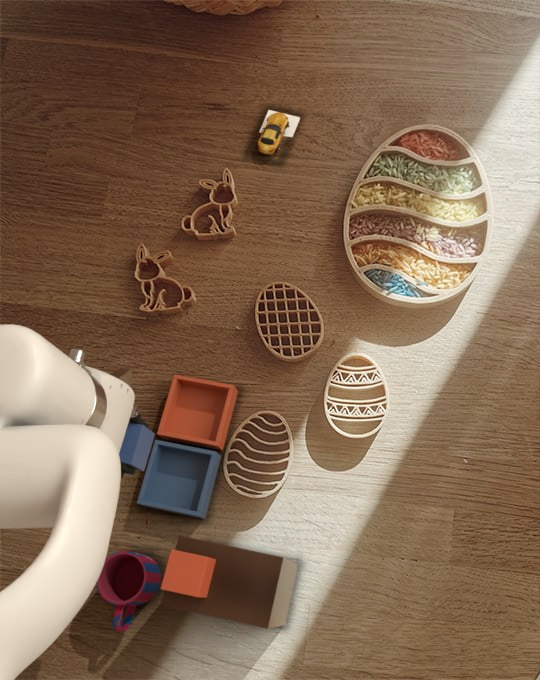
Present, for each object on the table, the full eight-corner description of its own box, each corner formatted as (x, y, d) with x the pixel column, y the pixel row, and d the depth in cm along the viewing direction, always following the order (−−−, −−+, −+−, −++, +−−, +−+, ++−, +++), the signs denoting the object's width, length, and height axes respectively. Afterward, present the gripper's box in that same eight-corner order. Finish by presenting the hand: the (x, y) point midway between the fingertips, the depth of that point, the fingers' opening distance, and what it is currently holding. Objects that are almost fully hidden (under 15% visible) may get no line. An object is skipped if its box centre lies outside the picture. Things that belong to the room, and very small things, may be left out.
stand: (285, 625, 99) (267, 628, 84) (193, 604, 100) (160, 604, 85) (298, 564, 101) (283, 557, 86) (208, 545, 103) (178, 535, 88)
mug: (167, 559, 103) (152, 555, 96) (148, 634, 99) (132, 636, 93) (121, 550, 103) (104, 547, 97) (102, 625, 100) (82, 626, 94)
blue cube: (144, 471, 82) (131, 464, 78) (107, 464, 83) (92, 456, 78) (155, 433, 83) (143, 425, 79) (119, 426, 84) (105, 417, 80)
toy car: (293, 119, 126) (291, 111, 124) (276, 160, 124) (274, 152, 121) (271, 114, 127) (269, 105, 125) (254, 154, 124) (251, 146, 122)
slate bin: (205, 519, 104) (199, 516, 101) (144, 506, 105) (136, 503, 102) (221, 456, 107) (216, 451, 104) (162, 444, 108) (155, 439, 105)
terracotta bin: (223, 451, 107) (217, 446, 104) (163, 439, 108) (156, 434, 105) (238, 391, 110) (233, 385, 107) (180, 381, 111) (174, 374, 108)
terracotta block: (206, 597, 85) (197, 597, 81) (170, 590, 86) (160, 589, 82) (216, 559, 87) (208, 557, 83) (181, 551, 87) (171, 549, 83)
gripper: (54, 313, 68) (120, 371, 86) (-10, 492, 63) (74, 515, 80) (129, 327, 67) (181, 382, 85) (71, 509, 62) (138, 529, 79)
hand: (128, 447), depth 82 cm, fingers closed on blue cube, 4 cm apart
